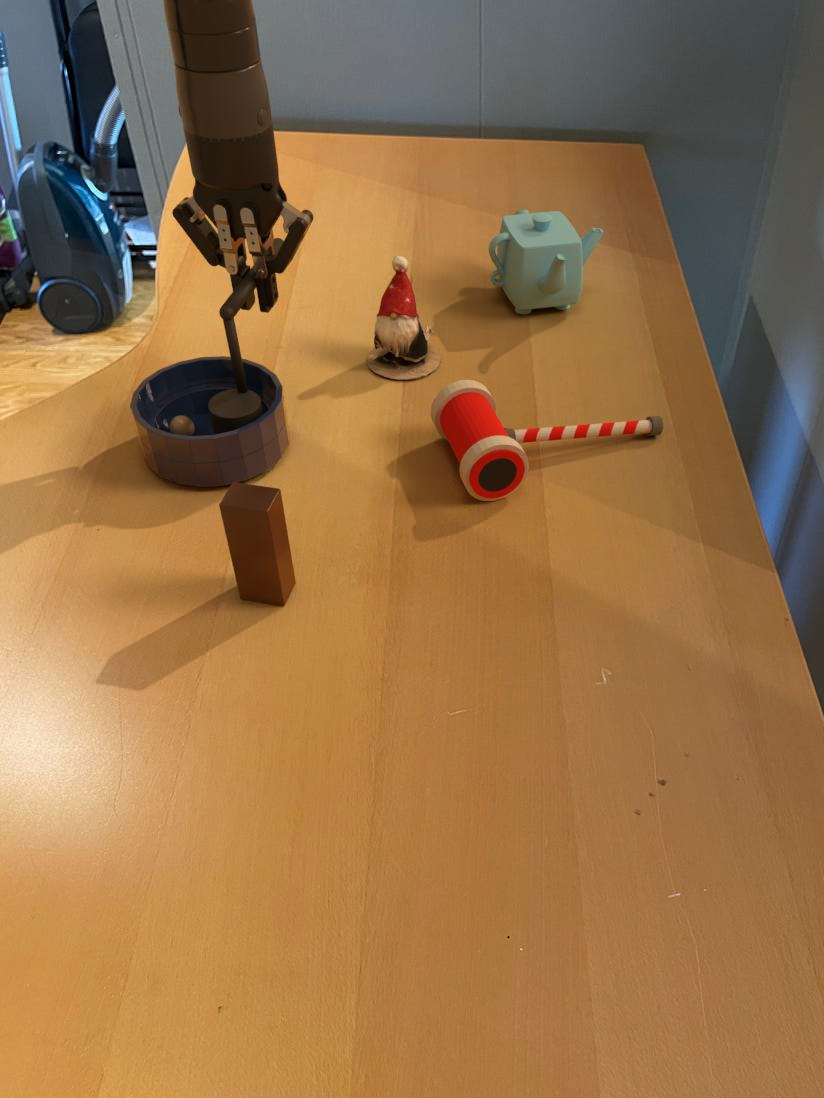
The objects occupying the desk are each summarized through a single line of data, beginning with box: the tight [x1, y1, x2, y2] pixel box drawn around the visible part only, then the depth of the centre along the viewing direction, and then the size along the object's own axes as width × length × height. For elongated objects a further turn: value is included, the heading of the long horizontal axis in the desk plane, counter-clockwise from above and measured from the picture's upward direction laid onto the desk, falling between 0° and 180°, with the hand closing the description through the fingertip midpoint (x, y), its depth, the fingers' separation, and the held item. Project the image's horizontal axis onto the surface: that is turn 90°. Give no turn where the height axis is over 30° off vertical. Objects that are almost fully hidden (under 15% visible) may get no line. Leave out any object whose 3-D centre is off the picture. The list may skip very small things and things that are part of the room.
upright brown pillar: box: [218, 482, 297, 607], centre depth 79 cm, size 4×3×10 cm
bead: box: [169, 415, 195, 436], centre depth 96 cm, size 2×2×2 cm
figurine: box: [366, 255, 442, 381], centre depth 107 cm, size 8×10×12 cm
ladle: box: [208, 237, 284, 435], centre depth 96 cm, size 19×5×12 cm, turn 168°
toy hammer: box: [430, 379, 664, 502], centre depth 95 cm, size 23×12×6 cm, turn 108°
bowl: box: [129, 355, 290, 488], centre depth 95 cm, size 14×14×6 cm
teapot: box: [488, 209, 604, 315], centre depth 116 cm, size 18×14×10 cm
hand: (257, 306), depth 95 cm, fingers closed on ladle, 1 cm apart
